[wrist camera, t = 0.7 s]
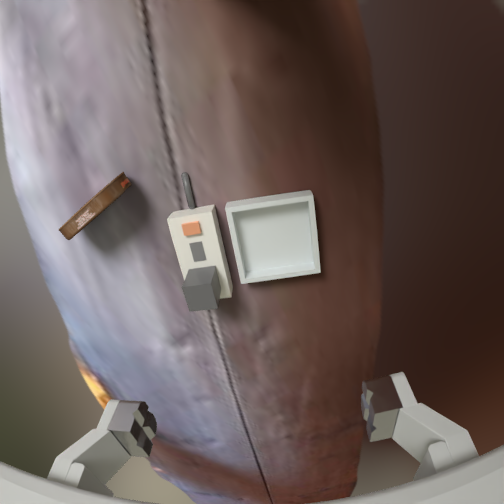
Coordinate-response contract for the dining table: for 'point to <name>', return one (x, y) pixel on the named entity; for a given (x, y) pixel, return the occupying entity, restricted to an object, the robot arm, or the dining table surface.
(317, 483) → the dining table surface
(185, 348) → the dining table surface
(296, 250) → the tray
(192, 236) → the power strip
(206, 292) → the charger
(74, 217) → the tin
